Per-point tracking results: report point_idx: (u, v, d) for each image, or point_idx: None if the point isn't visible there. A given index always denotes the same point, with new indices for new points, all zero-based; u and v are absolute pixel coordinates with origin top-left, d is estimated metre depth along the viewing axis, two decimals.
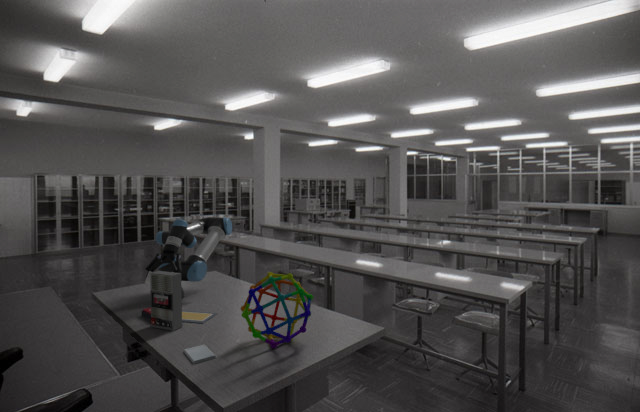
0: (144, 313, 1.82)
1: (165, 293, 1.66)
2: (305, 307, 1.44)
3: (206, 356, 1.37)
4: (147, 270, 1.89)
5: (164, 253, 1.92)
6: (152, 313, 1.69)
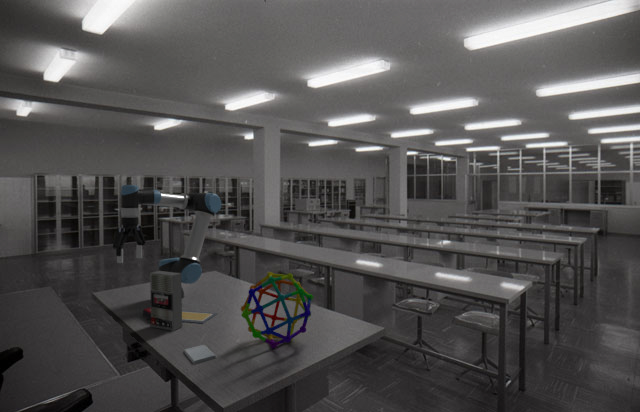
0: (145, 313, 1.82)
1: (165, 293, 1.66)
2: (305, 307, 1.44)
3: (206, 356, 1.37)
4: None
5: None
6: (152, 313, 1.69)
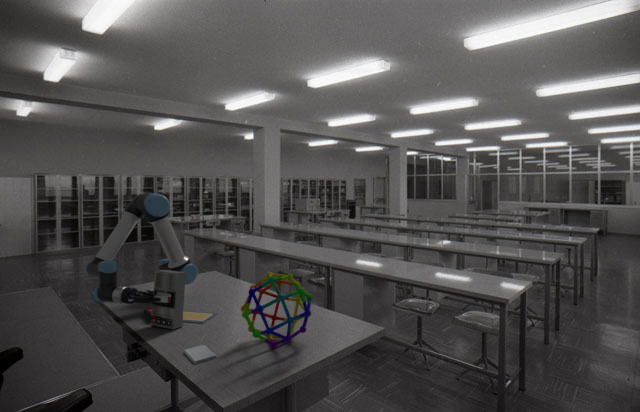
0: (145, 313, 1.82)
1: (168, 291, 1.67)
2: (305, 307, 1.44)
3: (207, 356, 1.37)
4: None
5: None
6: (153, 311, 1.70)
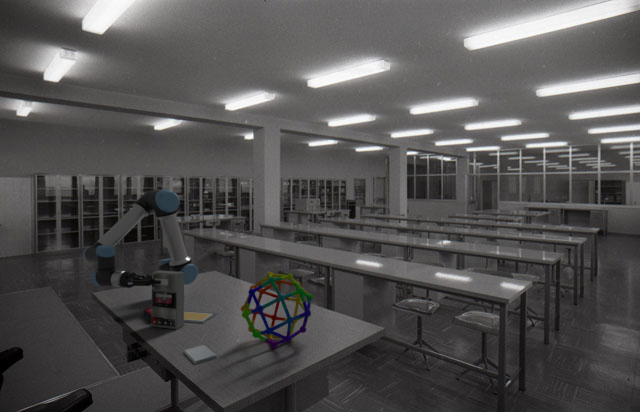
0: (145, 313, 1.82)
1: (168, 292, 1.67)
2: (305, 307, 1.44)
3: (207, 356, 1.37)
4: None
5: None
6: (153, 313, 1.69)
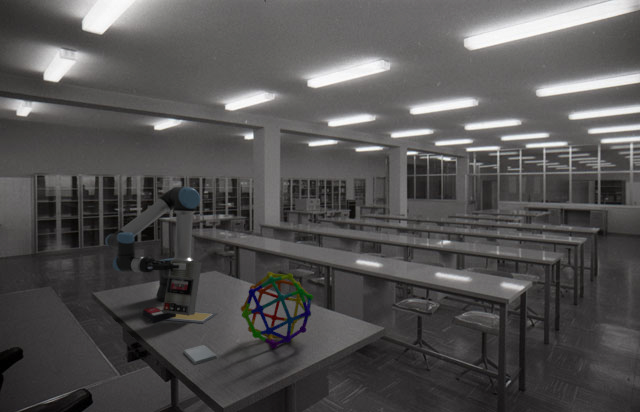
0: (145, 313, 1.82)
1: (185, 279, 1.76)
2: (305, 307, 1.44)
3: (207, 356, 1.37)
4: None
5: None
6: (166, 299, 1.75)
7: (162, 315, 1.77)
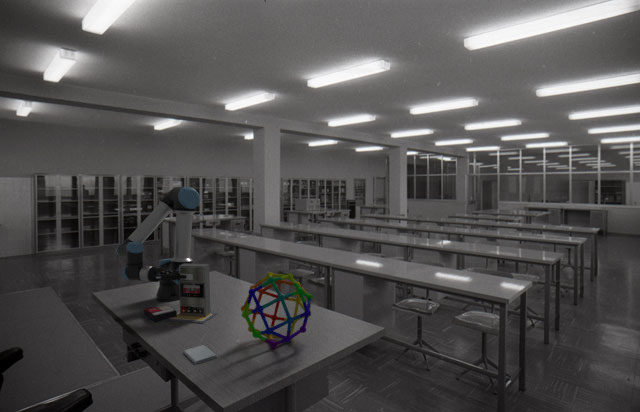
0: (146, 313, 1.83)
1: (196, 283, 1.81)
2: (305, 307, 1.44)
3: (207, 356, 1.37)
4: None
5: None
6: (181, 302, 1.83)
7: (163, 315, 1.78)
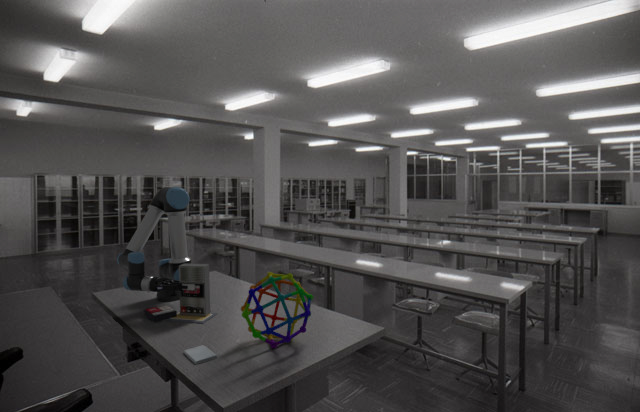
0: (146, 312, 1.83)
1: (196, 283, 1.81)
2: (305, 307, 1.44)
3: (207, 356, 1.37)
4: None
5: None
6: (181, 302, 1.83)
7: (163, 315, 1.78)
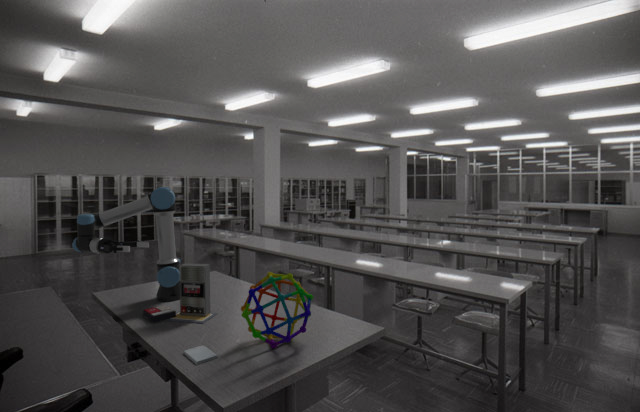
0: (145, 313, 1.82)
1: (196, 283, 1.82)
2: (305, 307, 1.44)
3: (208, 356, 1.37)
4: None
5: None
6: (182, 302, 1.83)
7: (162, 315, 1.77)
